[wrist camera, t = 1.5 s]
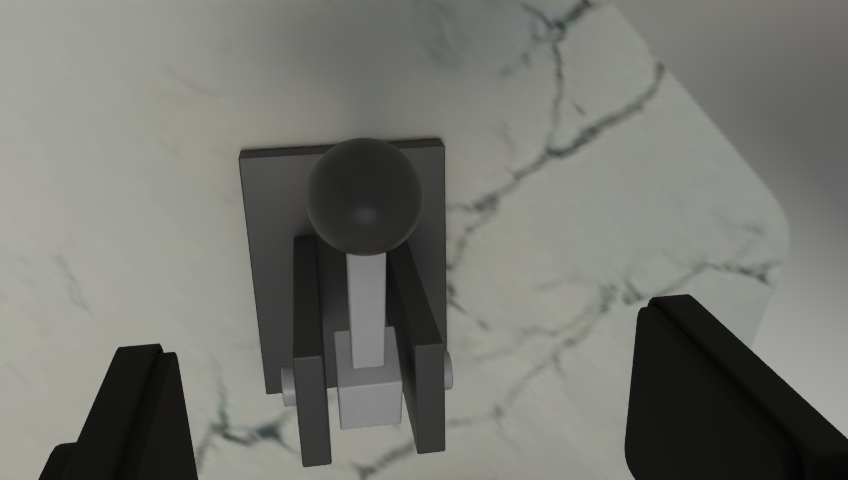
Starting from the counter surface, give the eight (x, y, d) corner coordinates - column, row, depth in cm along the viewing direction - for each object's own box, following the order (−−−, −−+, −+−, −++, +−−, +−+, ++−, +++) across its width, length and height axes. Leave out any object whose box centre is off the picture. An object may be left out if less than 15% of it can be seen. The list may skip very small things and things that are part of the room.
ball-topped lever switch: (298, 117, 20) (303, 200, 18) (417, 110, 20) (435, 190, 18) (322, 366, 29) (327, 442, 27) (404, 358, 29) (416, 432, 27)
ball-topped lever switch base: (240, 150, 33) (212, 254, 22) (440, 138, 34) (505, 232, 24) (267, 381, 38) (255, 560, 27) (443, 363, 39) (498, 528, 28)
